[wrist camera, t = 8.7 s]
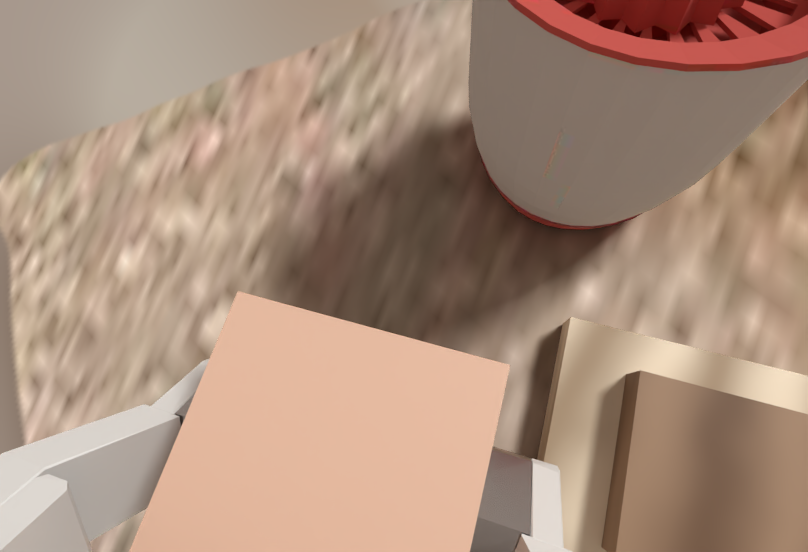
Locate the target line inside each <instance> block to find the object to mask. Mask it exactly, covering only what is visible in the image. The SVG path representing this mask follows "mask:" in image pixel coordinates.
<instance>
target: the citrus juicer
mask: <svg viewBox="0 0 808 552" xmlns="http://www.w3.org/2000/svg"><path fill="white" fill-rule="evenodd" d="M807 80H808V0H473V3H472V23H471V42H470V62H469V108H470V113H471V118H472V123H473V128H474V133H475V138H476V143H477V147H478V149H479V152H480V155H481V160H482V163H483V165H484V168H485V170H486V172H487V174H488V176H489V178H490V180H491V181H492V183H493V184H494V185H495V187H496V188H497V189H498V191H499V192H500V194H501V195H502V196H503V197H504V199H505V200H506V201H507V202H508V203H510V204H511V205H512V206H513V207H514V208H515V209H516V210H517V211H519V212H520V213H522V214H524V215H525V216H527V217H529V218H530V219H532V220H534V221H537V222H540V223H542V224H545V225H547V226H552V227H557V228H562V229H578V230H583V229H592V228H599V227H606V226H611V225H615V224H618V223H621V222H624V221H627V220H630V219H633V218H635V217H637V216H638V215H640V214H642V213H644V212H646V211H649V210H651V209H653V208H655V207H657V206H658V205H660V204H662V203H664V202H665V201H667V200H669V199H671V198H672V197H674V196H676V195H677V194H679V193H681V192H682V191H684V190H686V189H687V188H689V187H691V186H692V185H694V184H695V183H697V182H698V181H699V180H700V179H701V178H703V177H704V176H705V175H706V174H707V173H709V172H710V171H711V170H712V169H713V168H715V167H716V166H717V165H718V164H719V163H720V162H721V161H723V160H724V159H725V158H726V157H727V156H728V155H729V154H730V153H731V152H732V151H734V150H735V149H736V148H737V147H738V146H739V145H740V144H741V143H742V142H743V141H744V140H745V139H746V138H747V137H748V136H749V135H750V134H751V133H752V132H754V131H755V130H756V129H757V128H758V127H759V126H760V125H761V124H762V123H763V122H764V121H765V120H766V119H767V118H768V117H769V116H770V115H771V114H772V113H773V112H774V111H775V110H776V109H777V108H778V107H780V106H781V105H782V104H783V103H784V102H785V101H786V100H787V99H788V98H789V97H790V96H791V95H792V94H793V93H794V92H795V91H796V90H797V89H798V88H799V87H800V86H801V85H802V84H803V83H804V82H806V81H807Z"/></svg>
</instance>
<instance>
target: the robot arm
mask: <svg viewBox="0 0 808 552" xmlns="http://www.w3.org/2000/svg"><path fill="white" fill-rule="evenodd" d="M208 361H209V359H207V360H204V361H202V362H201V363H200V364H199V365H197V366H196V367H195V368H194V369H193V370H192V371H191V372H189V373H188V374H187V375H186V376H185V377H184V378H183V379H181V380H180V381H179V382H178V383H177V384H176V385H174V386H173V387H172V388H171V389H170V390H169V391H168V392H166V393H165V394H164V395H163V396H162V397H161V398H160V399H158V400H157V401H156V402H155V403H154V404H153V405H151V406H148V405H145V404H144V405H141V406H138V407H135V408H132V409H129V410H127V411H124V412H121V413H118V414H115V415H112V416H109V417H106V418H103V419H100V420H97V421H95V422H92V423H89V424H86V425H83V426H80V427H77V428H74V429H71V430H68V431H65V432H63V433H60V434H57V435H54V436H51V437H48V438H45V439H42V440H39V441H36V442H33V443H30V444H28V445H25V446H22V447H19V448H16V449H13V450H10V451H7V452H5V453H2V454H1V455H0V552H93V550H92V548H91V545H90V541H92V540H93V539H95V538H97V537H99V536H100V535H102V534H104V533H105V532H107V531H109V530H110V529H112V528H114V527H116V526H117V525H119V524H121V523H122V522H124V521H126V520H127V519H129V518H131V517H133V516H134V515H136V514H138V513H139V512H141V511H143V510H145V509H146V508H148V505H149V503H150V500H151V498H152V496H153V493H154V491H155V488H156V486H157V484H158V481H159V479H160V476H161V474H162V472H163V469H164V467H165V464H166V462H167V460H168V457H169V455H170V453H171V450H172V448H173V445H174V443H175V441H176V438H177V436H178V433H179V431H180V429H181V426H182V424H183V421H184V419H185V417H186V414H187V412H188V409H189V407H190V405H191V402H192V400H193V397H194V395H195V393H196V390H197V388H198V385H199V383H200V381H201V378H202V376H203V373H204V371H205V369H206V366H207V364H208ZM470 552H573V551H570V550H568V549H565V548H564V542H563V522H562V502H561V481H560V470H559V468H558V466H556V465H553V464H549V463H546V462H543V461H539V460H536V459H533V458H531V459H530V457H526V456H523V455H520V454H516V453H513V452H510V451H506V450H503V449H500V448H496V447H492V452H491V456H490V461H489V466H488V470H487V475H486V480H485V484H484V489H483V493H482V498H481V503H480V507H479V512H478V516H477V521H476V526H475V530H474V535H473V540H472V544H471V549H470Z"/></svg>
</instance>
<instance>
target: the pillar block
mask: <svg viewBox="0 0 808 552" xmlns="http://www.w3.org/2000/svg"><path fill="white" fill-rule="evenodd" d="M509 369H510V365H508V364H504V363H500V362H497V361H493V360H489V359H486V358H482V357H478V356H475V355H471V354H467V353H464V352H460V351H456V350H453V349H449V348H445V347H442V346H438V345H434V344H431V343H427V342H423V341H420V340H416V339H412V338H408V337H405V336H401V335H397V334H394V333H390V332H386V331H383V330H379V329H375V328H372V327H368V326H364V325H361V324H357V323H353V322H350V321H346V320H342V319H339V318H335V317H331V316H327V315H324V314H320V313H316V312H313V311H309V310H305V309H302V308H298V307H294V306H291V305H287V304H283V303H280V302H276V301H272V300H269V299H265V298H261V297H258V296H254V295H250V294H247V293H243V292H239V291H238V292H237V294H236V297H235V299H234V302H233V304H232V306H231V309H230V311H229V314H228V316H227V318H226V321H225V323H224V326H223V328H222V330H221V333H220V335H219V338H218V340H217V342H216V345H215V347H214V349H213V352H212V354H211V357H210V359H209V361H208V364H207V366H206V369H205V371H204V373H203V376H202V378H201V381H200V383H199V385H198V388H197V390H196V393H195V395H194V397H193V400H192V402H191V405H190V407H189V409H188V412H187V414H186V417H185V419H184V421H183V424H182V426H181V429H180V431H179V433H178V436H177V438H176V441H175V443H174V445H173V448H172V450H171V453H170V455H169V457H168V460H167V462H166V464H165V467H164V469H163V472H162V474H161V476H160V479H159V481H158V484H157V486H156V488H155V491H154V493H153V496H152V498H151V500H150V503H149V505H148V508H147V510H146V512H145V515H144V517H143V520H142V522H141V524H140V527H139V529H138V532H137V534H136V536H135V539H134V541H133V544H132V546H131V548H130V551H129V552H470V549H471V544H472V540H473V535H474V530H475V526H476V521H477V516H478V512H479V507H480V503H481V498H482V493H483V489H484V484H485V480H486V475H487V470H488V466H489V461H490V456H491V452H492V447H493V443H494V438H495V433H496V429H497V424H498V419H499V415H500V410H501V406H502V401H503V396H504V392H505V387H506V382H507V378H508V373H509Z"/></svg>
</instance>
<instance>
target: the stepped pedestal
mask: <svg viewBox="0 0 808 552" xmlns="http://www.w3.org/2000/svg"><path fill="white" fill-rule="evenodd" d="M537 460H539V461H543V462H546V463H549V464H553V465H556V466H558V468H559V470H560V481H561V502H562V522H563V542H564V548H565V549H568V550H570V551H573V552H808V376H806V375H802V374H798V373H794V372H790V371H786V370H782V369H778V368H774V367H770V366H766V365H762V364H758V363H754V362H750V361H746V360H742V359H738V358H734V357H730V356H726V355H722V354H718V353H714V352H710V351H706V350H702V349H698V348H694V347H690V346H685V345H681V344H677V343H673V342H669V341H665V340H661V339H657V338H653V337H649V336H645V335H641V334H637V333H633V332H629V331H625V330H621V329H617V328H613V327H609V326H605V325H601V324H597V323H593V322H589V321H585V320H581V319H577V318H573V317H570V318H569V319H568V320H567V321H566V322H564V323H563V325H562V331H561V336H560V341H559V346H558V352H557V357H556V362H555V367H554V372H553V378H552V383H551V388H550V393H549V399H548V404H547V409H546V414H545V420H544V425H543V430H542V435H541V441H540V446H539V451H538V456H537Z"/></svg>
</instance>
